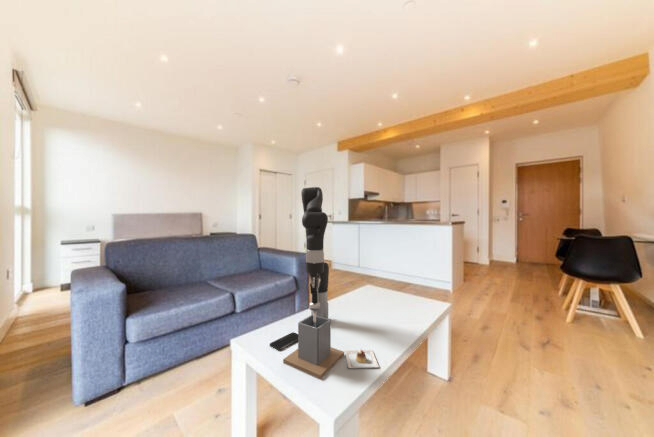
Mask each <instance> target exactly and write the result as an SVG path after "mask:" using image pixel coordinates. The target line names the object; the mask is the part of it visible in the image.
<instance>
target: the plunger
mask: <svg viewBox="0 0 654 437" xmlns="http://www.w3.org/2000/svg"><path fill="white" fill-rule="evenodd" d="M308 307H309V308H308V309H309V310H310V311H311V310H313V327H316V310H319V309H320V302H319V301H317V303H312V301H309V305H308Z"/></svg>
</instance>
